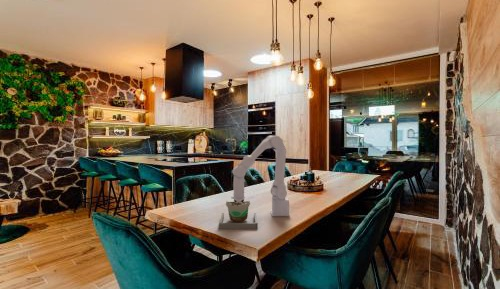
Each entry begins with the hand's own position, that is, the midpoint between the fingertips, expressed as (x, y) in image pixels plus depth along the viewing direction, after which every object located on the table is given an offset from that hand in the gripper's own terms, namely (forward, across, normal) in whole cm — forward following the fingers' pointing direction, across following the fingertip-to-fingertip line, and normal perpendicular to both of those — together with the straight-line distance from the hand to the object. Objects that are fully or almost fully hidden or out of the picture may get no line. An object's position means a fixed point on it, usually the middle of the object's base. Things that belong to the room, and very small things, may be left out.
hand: (238, 214), depth 137 cm
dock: (+2, +8, 0) cm, 8 cm away
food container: (+2, +6, 0) cm, 6 cm away
